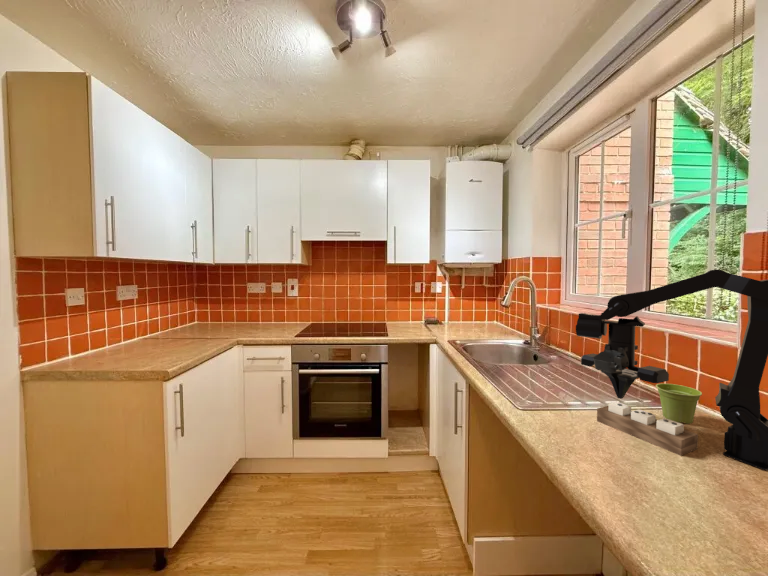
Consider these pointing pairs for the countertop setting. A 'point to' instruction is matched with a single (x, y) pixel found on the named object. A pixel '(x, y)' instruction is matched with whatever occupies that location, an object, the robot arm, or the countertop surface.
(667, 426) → the tile two dot
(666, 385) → the plant pot
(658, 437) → the tile board
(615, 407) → the tile one dot
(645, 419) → the tile three dot
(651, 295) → the robot arm
